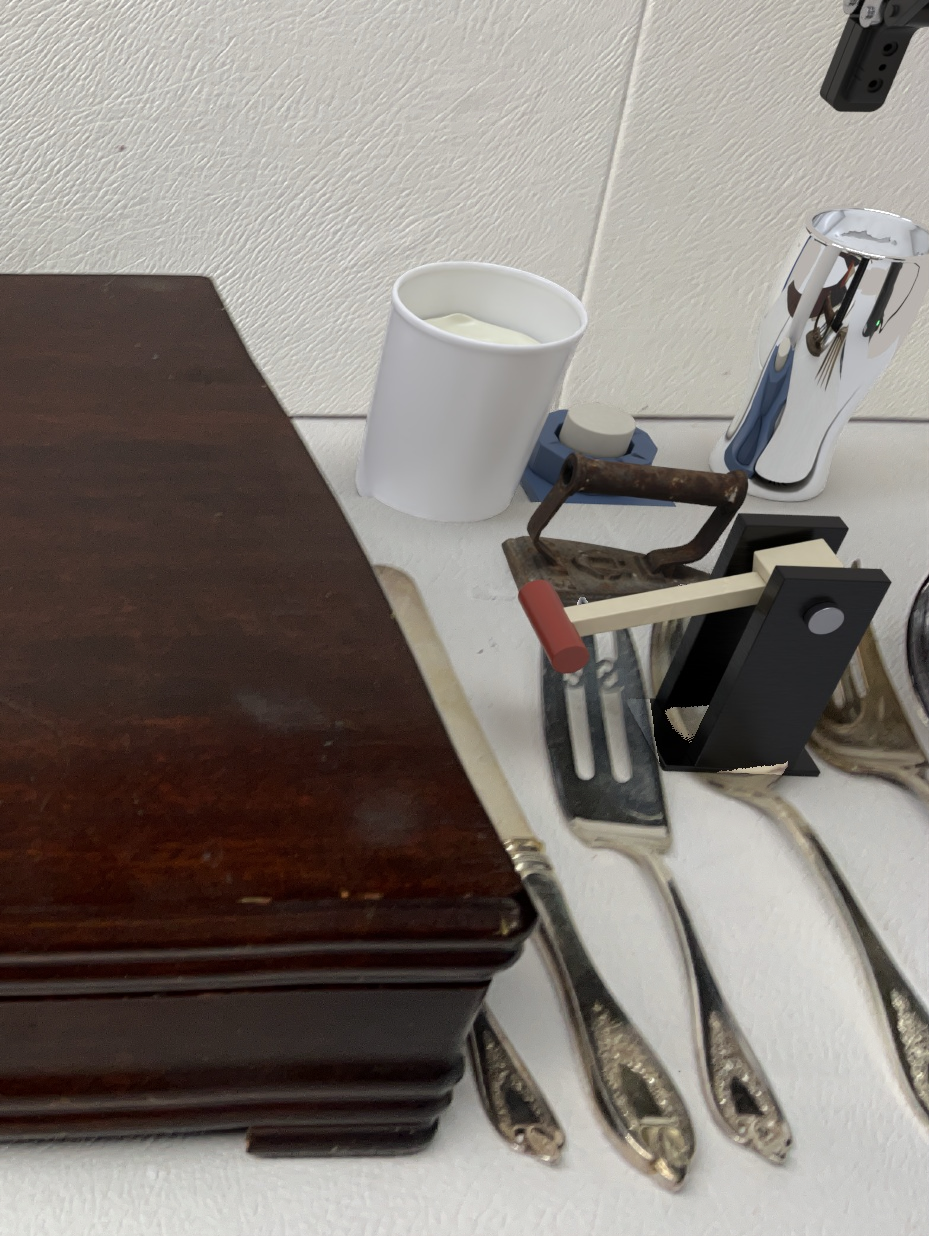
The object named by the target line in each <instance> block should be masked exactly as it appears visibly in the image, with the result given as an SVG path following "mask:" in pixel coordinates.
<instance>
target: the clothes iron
mask: <svg viewBox="0 0 929 1236" xmlns="http://www.w3.org/2000/svg"><path fill="white" fill-rule="evenodd" d="M747 491H748V475H747V473H746V472H745V471H743V470H733V471H730V472H728V473H726V474H724V473H715V472H713V471H705V470H696V469H695V470H694V469H685V468H677V467H669V466H668V467H667V466H658V465H651V466H650V465H642V464H634V463H625V462H614V461H605V460H598V459H590V458H587V457H585V456H584V455H583V454H582V453H575V452H573V453H571V454H569V455H568V456H567V457H566V459H565V461H564V463H563V465H562V467H561V471H560V474H559V479H558V480H557V482H556V484H555V485H554V486H553V488H552V489H551V490H550V492H549V493H548V494H547V496H546V497H545V498H544V500H543V501H542V502H540V504H539V505H538V506H537V508H536V509H535V510H534V511H533V513H532V515H531V516H530V518H529V520H528V522H527V524H526V532H527V535H521V536H518V537H513V538H512V537H511V538H510V537H509V538H507V539H505V540H504V541H502V543H501V548H502V551H503V555H504V557H505V559H506V562H507V565H508V568H509V571H510V573H511V576H512V578H513V582H514V584H515V586H516V589H517V591H518V593H519V591H520V589H521V588H522V587H523V586H524V585H525V584H527V583H529V582H531V581H534V580H545V581H548V582H550V583H551V584H552V585H553V587H554V589H555V591H556V593H557V595H558V596H559V598H560V600H561V602H562V604H563V606H564V608H565V607H570V606H575V605H577V602H578V600H579V598H580V597H585V598H586V600H587V601H588V603H591V602H597V601H602V600H607V599H612V598H618V597H623V596H628V595H634V594H639V593H644V592H650V591H655V590H660V589H666V588H671V587H676V586H678V585H680V584H690V583H698V582H703V581H708V579H709V577H710V575H711V573H708V572H706V571H703V570H701V569H698V568H695V567H692V566H689V565H690V564H694V563H696V562H699V561H701V560H703V559H704V558H705V557H706V556H707V555H708V554H709V553H710V552H711V550H712V548H714V546H715V545H716V544H717V542H718V541H719V539H720V538H721V536H722V535H723V533H724V532H725V531H726V529H727V528H728V526H729V525H730V523H731V522H732V521H733V519H734V518H735V516H737V514H738V512H739V510H740V509H741V507H742V506H743V505H744V503H745V500H746V499H747V496H748V494H747ZM575 493H588V494H600V495H614V496H625V497H635V498H645V499H652V500H661V501H670V502H674V503H677V504H678V503H680V504H687V505H688V504H689V505H697V506H705V507H714V509H713V510H712V513H711V514H710V515H709V517H708V518H707V520H706V521H705V522H704V524H703V525H701V526H702V527H701V528H700V529H699V531H698V532H697V533H696V535H695V536H693V538H692V539H691V540H690V541H689V542H687V543H685V544H682V545H678V546H673V547H663V548H657V549H652V550H650V551H649V552H648V553H643V552H638V551H632V550H628V549H623V548H618V547H612V546H608V545H601V544H596V543H591V542H589V543H588V542H583V541H576V540H571V539H563V538H562V539H561V538H553V537H545V536H541V535H542V532H543V531H544V529H545V528H546V527H547V526H548V525H549V523H550V522H551V520H552V519H553V518H554V517H555V516H556V514H557V513H558V512H559V511H560V509H561V507H563V505H564V504H565V503H564V502H565V501H566V500H567V498H568V497H569V496H573V495H574V494H575Z"/></svg>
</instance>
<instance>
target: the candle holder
mask: <svg viewBox="0 0 929 1236" xmlns="http://www.w3.org/2000/svg"><path fill="white" fill-rule="evenodd" d="M589 324H590V317H589V312H588V310H587V308H586V306H585V305H584V303H583V302H582V301H581V300H580V299H579V297H577V296H576V295H574V294H573V293H572V292H571V291H570V290H568V289H566V288H565V287H563V286H562V285H560V284H558V283H556V282H554V281H552V280H550V279H548V278H546V277H543V276H540V275H538V274H536V273H533V272H529V271H526V270H523V269H519V268H515V267H511V266H506V265H502V264H496V263H489V262H482V261H469V260H451V261H450V260H449V261H439V262H438V261H436V262H432V263H431V262H430V263H426V264H423V265H419V266H416V267H413V268H410V269H408V270H407V271H405V272H403V273H402V274H400V275H399V276H398V278H397V279H396V280H395V281H394V283H393V285H392V288H391V291H390V303H389V309H388V313H387V318H386V323H385V328H384V332H383V336H382V337H383V338H382V342H381V347H380V352H379V357H378V361H377V366H376V370H375V375H374V379H373V383H372V384H373V385H372V389H371V393H370V399H369V404H368V409H367V413H366V418H365V423H364V427H363V432H362V437H361V442H360V447H359V452H358V457H357V462H356V468H355V474H354V475H355V476H354V482H355V488H356V490H357V493H358V494H359V496H360V497H361V498H374V499H376V500H377V501H379V502H380V503H382V504H384V505H386V506H388V507H390V508H392V509H393V510H396V511H398V512H401V513H403V514H406V515H409V516H412V517H416V518H419V519H423V520H428V521H434V522H439V523H441V522H442V523H452V524H453V523H456V524H457V523H458V524H463V523H464V524H465V523H475V522H480V521H485V520H488V519H491V518H494V517H496V516H498V515H500V514H502V513H503V512H505V510H507V508H508V507H509V506H510V504H511V502H512V500H513V498H514V496H515V493H516V491H517V489H518V487H519V484H520V480H521V478H522V475H523V473H524V471H525V469H526V466H527V464H528V462H529V459H530V457H531V455H532V452H533V450H534V448H535V445H536V443H537V441H538V438H539V436H540V434H541V431H542V429H543V427H544V424H545V422H546V420H547V417H548V415H549V413H551V410H552V408H553V406H554V403H555V401H556V398H557V396H558V394H559V392H560V390H561V387H562V384H563V382H564V380H565V377H566V375H567V373H568V371H569V369H570V366H571V364H572V362H573V360H574V357H575V355H576V352H577V350H578V347H579V345H580V343H581V341H582V339H583V337H584V336H585V334H586V333H587V331H588V327H589Z"/></svg>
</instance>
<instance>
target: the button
mask: <svg viewBox="0 0 929 1236" xmlns="http://www.w3.org/2000/svg"><path fill="white" fill-rule="evenodd" d="M567 410H568V413H567V415H566V418H565V421H564V424H563V426H562V429H561V432H560V435H559V440H560V442H561V443H562V444H563V445H565V446H567V447H568V448H570V449H572V450H573V451H575V452H577V453H582V454H585V455H588V456H592V457H595V458H619V457H622V456H623V455H624V454H625V453H626V451H627V449H628V446H629V443H630V441H631V438H632V436H633V433H634V431H635V428H636V427H637V422H636V420H635V418H634V417H633V416H632V415H631V414H630V413H629V412H627V411H625V410H624V409H621V408H620V407H617V406H614V405H611V404H608V403H604V402H598V401H597V402H595V401H585V402H584V401H583V402H578V403H576V404H573V405H571V407H569V409H567Z"/></svg>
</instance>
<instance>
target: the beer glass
mask: <svg viewBox="0 0 929 1236" xmlns="http://www.w3.org/2000/svg"><path fill="white" fill-rule="evenodd" d="M928 291H929V226H928V224H927V225H926V224H925V223H923V222H921V221H920V220H917V219H915V218H912V217H909V216H906V215H903V214H900V213H897V212H893V211H890V210H886V209H880V208H875V207H868V206H862V205H861V206H860V205H845V204H844V205H842V204H841V205H830V206H829V205H828V206H823V207H819V208H816V209H814V210H812V211H810V212H809V213H808V214H806V216H805V218H804V221H803V223H802V225H801V227H800V230H799V231H798V233H797V235H796V237H795V239H794V240H793V242H792V244H791V246H790V248H789V250H788V253H787V254H786V256H785V257H784V259H783V262H782V263H781V266H780V268H779V270H778V272H777V275H776V277H775V278H774V281H773V283H772V286H771V288H770V290H769V293H768V296H767V298H766V301H765V304H764V307H763V309H762V311H761V316H760V320H759V324H758V326H757V331H756V335H755V339H754V344H753V349H752V354H751V358H750V363H749V368H748V373H747V379H746V382H745V387H744V391H743V395H742V397H741V401H740V404H739V406H738V408H737V410H736V413H735V414H734V416H733V419H732V420H731V422H730V423H729V425H728V427H727V428H726V430H725V431H724V433H723V434H722V436H720V439H718V441H717V443H715V444H716V445H715V446H714V447H713V449H712V451H711V452H710V455H709V457H708V465H709V468H710V470H711V472H715V473H724V474H726V473H728V472H730V471H733V470H743V471H745V472H746V473H747V475H748V491H747V495H749V496H753V497H755V498H759V499H764V500H769V501H774V502H782V503H783V502H785V503H794V502H795V503H796V502H797V503H798V502H805V501H808V500H812V499H814V498H816V497H818V496H820V494H821V493H822V492H823V491H824V489H825V487H826V485H827V482H828V478H829V474H830V469H831V465H832V460H833V456H834V453H835V451H836V450H835V449H836V447H837V445H838V441H839V439H840V437H841V435H842V433H843V431H844V429H845V427H846V426H847V424H848V422H849V421H850V419H851V418H852V416H853V415H854V413H856V411H857V409H858V408H859V406H860V405H861V403H862V402H863V401H864V400H865V398H866V397H867V395H868V394H869V393H870V391H872V389H873V387H874V386H875V385H876V383H877V382H878V380H879V379H880V378H881V376H882V375H883V374H884V372H885V371H886V370H887V368H888V367H889V365H890V364H891V362H892V361H893V359H894V358H895V356H897V355H896V354H897V353H898V351H899V350H900V349H901V347H902V345H903V344H904V342H905V340H906V338H907V336H908V334H909V332H910V331H911V329H912V327H913V325H914V323H915V321H916V318H917V316H918V314H919V312H920V310H921V307H922V305H923V302H924V301H925V298H926V295H927V293H928Z"/></svg>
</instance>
